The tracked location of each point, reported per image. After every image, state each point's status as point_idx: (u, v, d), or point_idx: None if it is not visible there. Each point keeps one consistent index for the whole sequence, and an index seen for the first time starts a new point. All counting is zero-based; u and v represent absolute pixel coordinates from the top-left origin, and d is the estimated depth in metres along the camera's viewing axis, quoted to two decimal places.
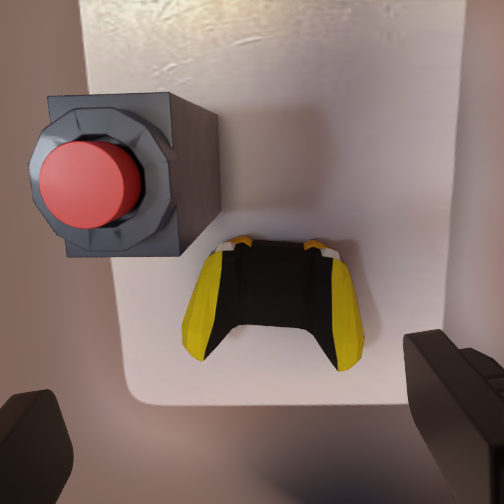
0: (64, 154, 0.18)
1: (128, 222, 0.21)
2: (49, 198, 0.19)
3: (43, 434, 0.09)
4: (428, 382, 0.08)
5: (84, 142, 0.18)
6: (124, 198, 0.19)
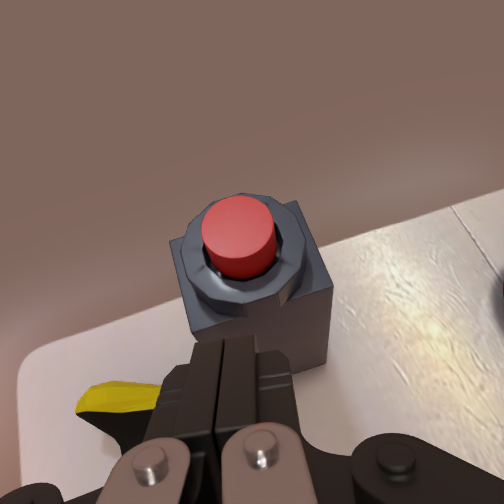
0: (258, 208, 0.22)
1: (213, 274, 0.23)
2: (220, 205, 0.22)
3: None
4: None
5: (272, 220, 0.22)
6: (235, 260, 0.21)
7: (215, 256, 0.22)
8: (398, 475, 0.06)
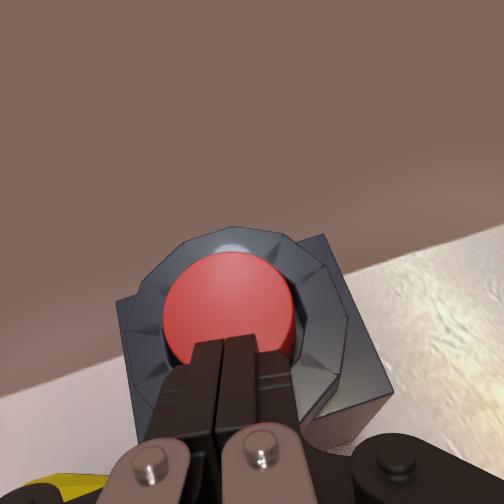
0: (264, 277, 0.12)
1: None
2: (197, 270, 0.13)
3: None
4: None
5: (291, 300, 0.12)
6: None
7: None
8: (398, 475, 0.06)
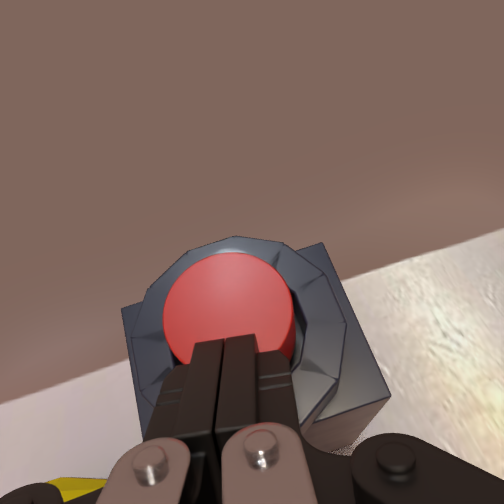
0: (264, 277, 0.12)
1: None
2: (197, 270, 0.13)
3: None
4: None
5: (290, 300, 0.12)
6: None
7: None
8: (398, 475, 0.06)
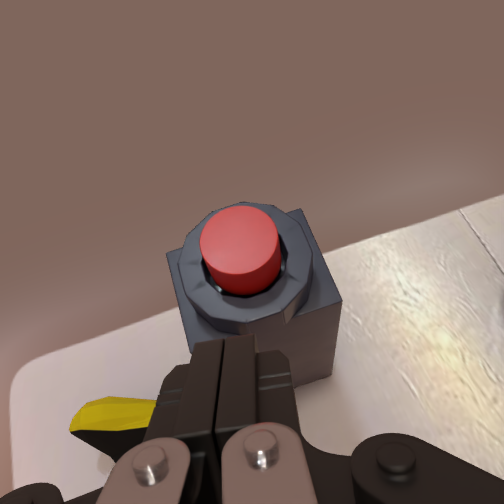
0: (261, 220, 0.20)
1: (214, 290, 0.21)
2: (220, 216, 0.21)
3: None
4: None
5: (276, 232, 0.20)
6: (237, 276, 0.20)
7: (215, 272, 0.20)
8: (398, 475, 0.06)
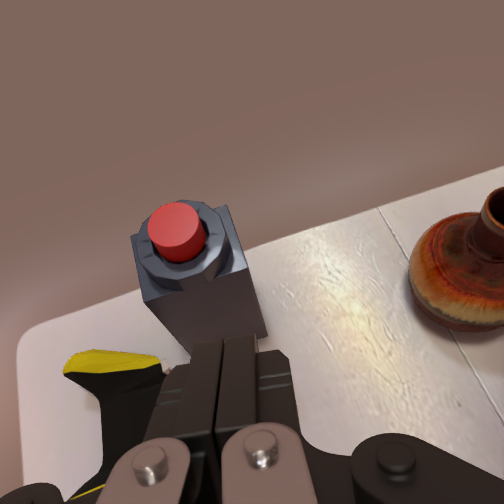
0: (188, 211, 0.31)
1: (158, 259, 0.32)
2: (162, 209, 0.31)
3: None
4: None
5: (198, 220, 0.30)
6: (170, 248, 0.30)
7: (157, 245, 0.30)
8: (398, 475, 0.06)
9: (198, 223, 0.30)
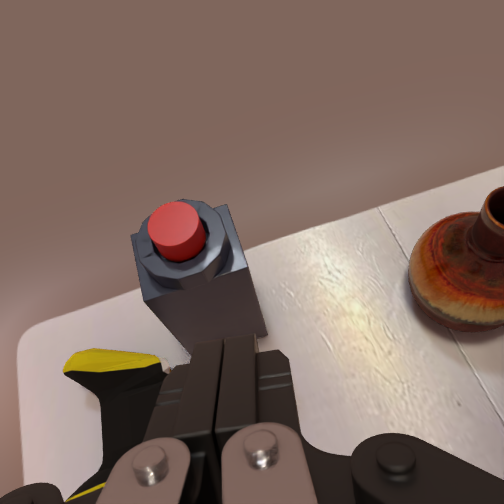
0: (188, 210, 0.31)
1: (158, 258, 0.32)
2: (162, 208, 0.31)
3: None
4: None
5: (198, 219, 0.31)
6: (170, 247, 0.30)
7: (157, 244, 0.30)
8: (398, 475, 0.06)
9: (198, 222, 0.30)
